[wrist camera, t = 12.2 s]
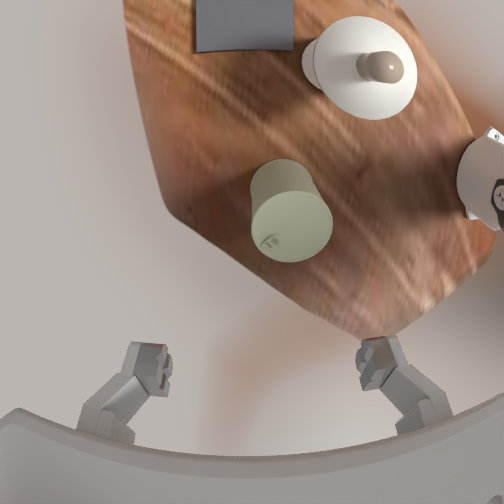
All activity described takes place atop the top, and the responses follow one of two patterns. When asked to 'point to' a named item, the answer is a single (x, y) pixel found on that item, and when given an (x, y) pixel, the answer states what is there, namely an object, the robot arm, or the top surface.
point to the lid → (365, 67)
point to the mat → (244, 25)
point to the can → (288, 212)
